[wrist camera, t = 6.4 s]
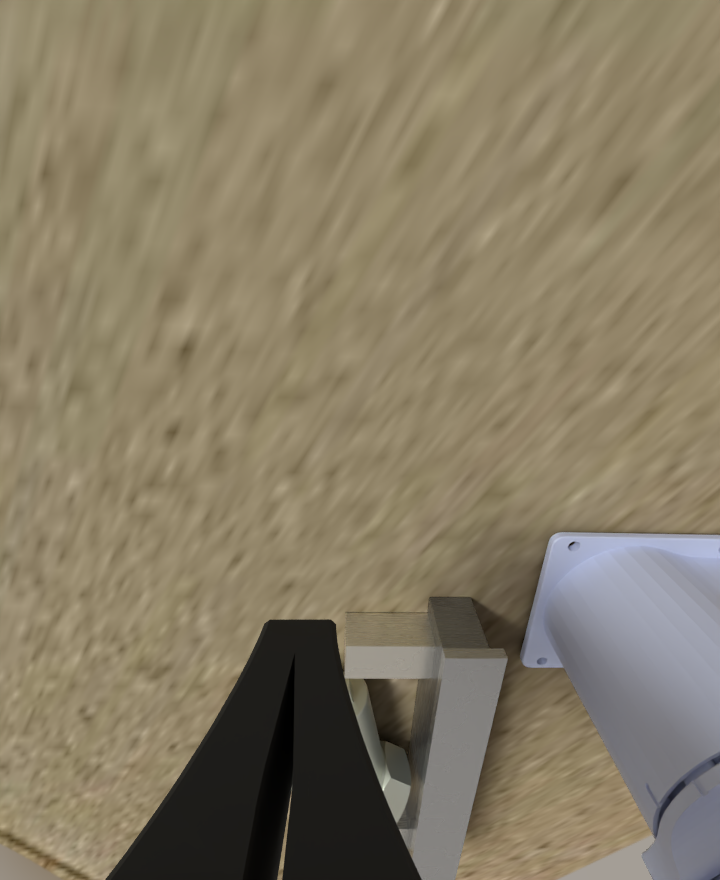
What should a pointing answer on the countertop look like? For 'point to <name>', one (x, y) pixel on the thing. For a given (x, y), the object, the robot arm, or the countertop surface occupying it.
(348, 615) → the grey bracket
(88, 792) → the countertop surface
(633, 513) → the countertop surface
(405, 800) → the pipe fitting
